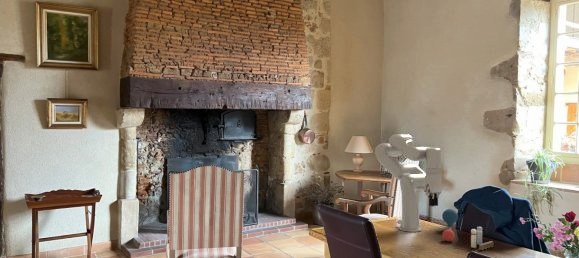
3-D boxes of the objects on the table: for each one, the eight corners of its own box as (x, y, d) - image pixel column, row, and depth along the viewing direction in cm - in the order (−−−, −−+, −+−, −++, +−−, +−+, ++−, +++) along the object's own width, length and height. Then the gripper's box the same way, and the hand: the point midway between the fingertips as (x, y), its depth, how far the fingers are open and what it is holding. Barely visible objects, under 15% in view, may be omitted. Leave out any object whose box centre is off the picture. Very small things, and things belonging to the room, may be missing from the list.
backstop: (478, 250, 214) (478, 245, 214) (491, 246, 221) (491, 241, 221) (481, 250, 213) (481, 245, 213) (493, 246, 220) (493, 241, 220)
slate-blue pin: (476, 244, 225) (476, 227, 225) (478, 243, 226) (478, 226, 226) (480, 245, 223) (480, 228, 223) (483, 244, 224) (483, 227, 224)
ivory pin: (470, 247, 220) (470, 229, 220) (472, 246, 221) (472, 229, 221) (474, 248, 218) (474, 230, 218) (477, 247, 219) (477, 229, 219)
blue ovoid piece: (459, 232, 249) (459, 210, 249) (443, 231, 250) (443, 210, 250) (456, 228, 257) (456, 207, 257) (441, 228, 259) (441, 207, 258)
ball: (440, 240, 231) (440, 229, 231) (446, 239, 235) (446, 227, 235) (450, 243, 226) (450, 231, 226) (457, 241, 230) (457, 229, 230)
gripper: (436, 169, 245) (436, 203, 245) (418, 171, 236) (418, 206, 236) (448, 170, 239) (448, 205, 239) (430, 172, 230) (430, 208, 230)
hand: (433, 205), depth 238 cm, fingers closed
